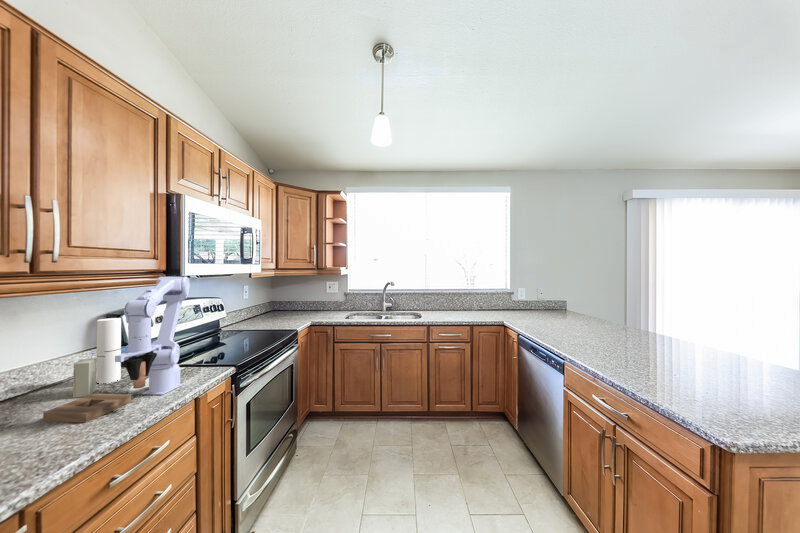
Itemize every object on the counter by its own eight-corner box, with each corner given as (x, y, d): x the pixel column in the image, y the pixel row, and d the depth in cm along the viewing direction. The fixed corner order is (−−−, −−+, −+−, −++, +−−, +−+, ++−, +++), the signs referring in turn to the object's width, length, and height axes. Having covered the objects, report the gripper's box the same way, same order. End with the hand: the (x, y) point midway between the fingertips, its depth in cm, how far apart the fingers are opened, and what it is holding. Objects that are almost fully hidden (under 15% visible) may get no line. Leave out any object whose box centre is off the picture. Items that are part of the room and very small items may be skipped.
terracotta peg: (139, 384, 102) (139, 360, 102) (147, 385, 102) (147, 361, 102) (130, 388, 99) (131, 363, 99) (139, 388, 99) (139, 363, 99)
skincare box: (80, 392, 113) (81, 359, 113) (96, 390, 115) (97, 357, 115) (72, 398, 108) (72, 363, 108) (89, 396, 110) (89, 362, 110)
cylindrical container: (118, 381, 124) (119, 319, 124) (94, 385, 120) (95, 321, 120) (122, 376, 130) (122, 317, 130) (98, 379, 126) (99, 318, 126)
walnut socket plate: (93, 400, 106) (93, 393, 106) (131, 402, 105) (131, 394, 105) (43, 420, 92) (43, 412, 92) (86, 422, 91) (86, 414, 91)
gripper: (148, 331, 108) (147, 370, 108) (105, 341, 93) (105, 385, 93) (167, 331, 107) (166, 370, 107) (127, 341, 93) (126, 386, 93)
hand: (139, 377), depth 100 cm, fingers closed on terracotta peg, 3 cm apart
